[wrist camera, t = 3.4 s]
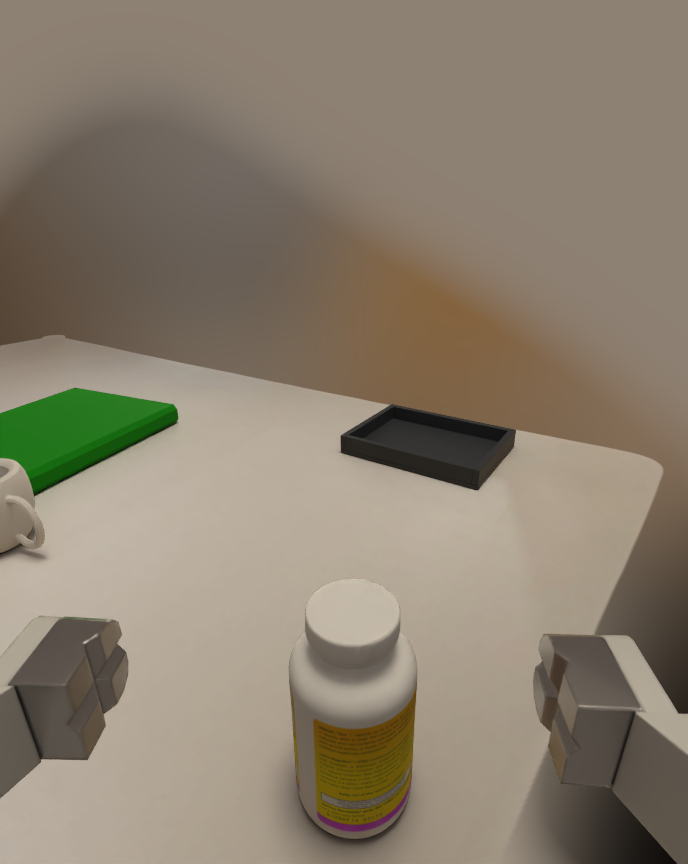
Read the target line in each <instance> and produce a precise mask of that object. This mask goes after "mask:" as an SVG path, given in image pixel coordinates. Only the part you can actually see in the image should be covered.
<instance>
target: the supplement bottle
mask: <svg viewBox="0 0 688 864" xmlns="http://www.w3.org/2000/svg"><path fill="white" fill-rule="evenodd" d="M289 683H290V695H291V708H292V722H293V737H294V752H295V766H296V779H297V786H298V792H299V796H300V799H301V802H302V804H303V806H304V808H305V810H306V812H307V813H308V814H309V816H310V817H311V818H312V819H313V821H314V822H315V823H316V824H317V825H319V826H320V827H321V828H322V829H324V830H325V831H327V832H329V833H331V834H333V835H336V836H339V837H343V838H349V839H360V838H367V837H370V836H373V835H376V834H378V833H380V832H382V831H384V830H385V829H387V828H388V827H389V826H390V825H391V824H392V823H394V821H395V820H396V819H397V818H398V817H399V815H400V814H401V812H402V811H403V809H404V807H405V805H406V803H407V800H408V797H409V793H410V787H411V778H412V759H413V739H414V720H415V703H416V689H417V662H416V657H415V654H414V651H413V649H412V646H411V645H410V643H409V641H408V640H407V638H406V637H405V635H404V634H403V633H402V632H401V631H400V608H399V604H398V602H397V600H396V599H395V597H394V596H393V595H392V594H391V593H390V592H389V591H388V590H387V589H386V588H384V587H382V586H381V585H378V584H376V583H373V582H370V581H366V580H361V579H344V580H338V581H334V582H331V583H329V584H326V585H324V586H323V587H321V588H319V589H318V590H317V591H316V592H315V593H314V594H313V595H312V596H311V597H310V599H309V601H308V603H307V606H306V610H305V631H304V632H303V633H302V635H301V636H300V637H299V639H298V640H297V642H296V644H295V646H294V648H293V650H292V653H291V656H290V662H289Z"/></svg>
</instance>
